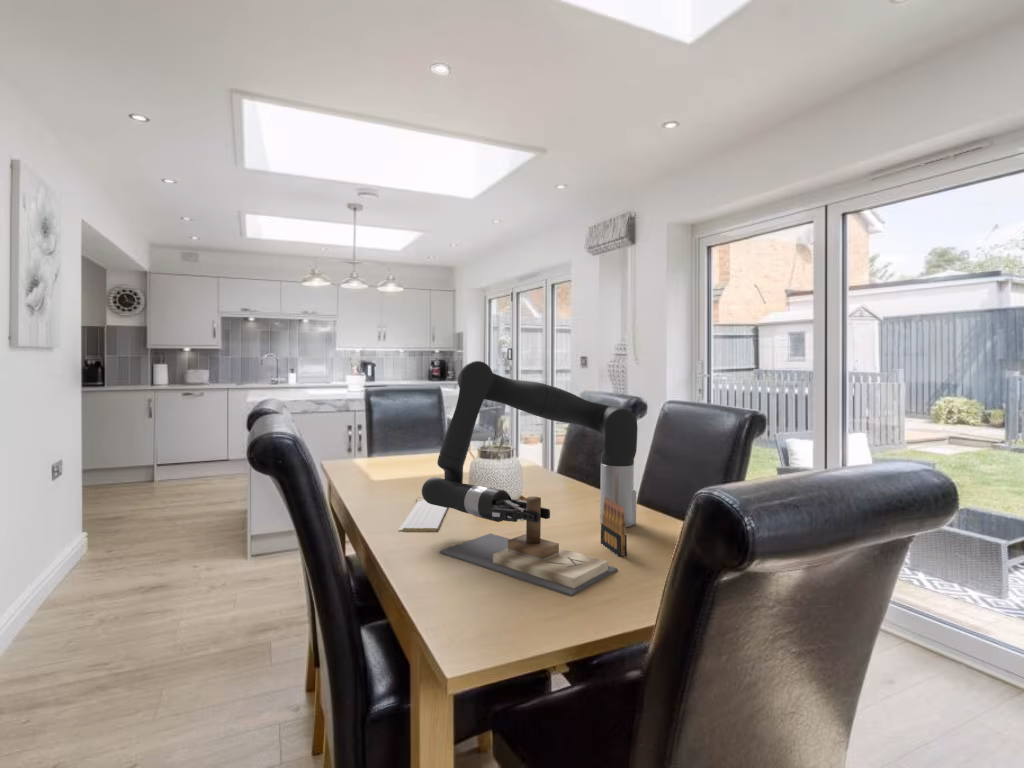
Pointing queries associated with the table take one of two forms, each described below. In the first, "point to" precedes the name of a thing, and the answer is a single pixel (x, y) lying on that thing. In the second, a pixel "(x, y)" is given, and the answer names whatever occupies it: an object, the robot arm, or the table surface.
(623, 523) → the ammunition clip
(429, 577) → the table surface
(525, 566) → the pine board
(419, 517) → the baseboard molding
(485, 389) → the robot arm
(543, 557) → the sanding block
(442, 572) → the table surface
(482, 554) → the rubber mat
